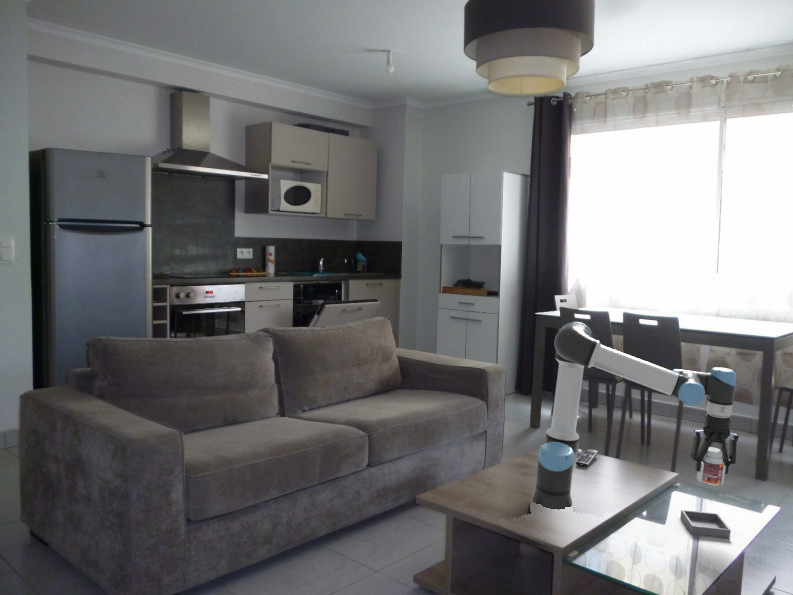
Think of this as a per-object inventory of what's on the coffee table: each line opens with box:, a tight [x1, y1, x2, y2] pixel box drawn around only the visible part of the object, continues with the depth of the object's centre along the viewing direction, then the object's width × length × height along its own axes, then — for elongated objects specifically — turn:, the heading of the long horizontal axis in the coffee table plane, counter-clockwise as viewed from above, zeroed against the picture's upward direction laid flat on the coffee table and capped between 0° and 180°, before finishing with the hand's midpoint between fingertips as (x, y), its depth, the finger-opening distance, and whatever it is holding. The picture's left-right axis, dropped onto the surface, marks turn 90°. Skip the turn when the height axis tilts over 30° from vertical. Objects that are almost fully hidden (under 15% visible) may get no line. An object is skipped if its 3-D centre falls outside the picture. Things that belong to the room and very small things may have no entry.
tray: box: [679, 509, 732, 540], centre depth 221 cm, size 12×12×3 cm
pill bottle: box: [701, 446, 724, 486], centre depth 218 cm, size 6×6×11 cm
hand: (710, 481), depth 219 cm, fingers closed on pill bottle, 6 cm apart
